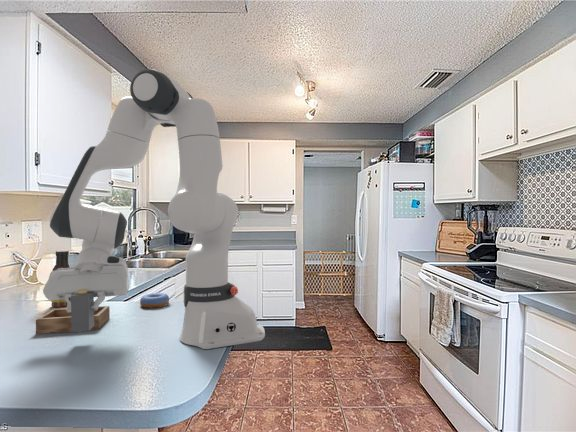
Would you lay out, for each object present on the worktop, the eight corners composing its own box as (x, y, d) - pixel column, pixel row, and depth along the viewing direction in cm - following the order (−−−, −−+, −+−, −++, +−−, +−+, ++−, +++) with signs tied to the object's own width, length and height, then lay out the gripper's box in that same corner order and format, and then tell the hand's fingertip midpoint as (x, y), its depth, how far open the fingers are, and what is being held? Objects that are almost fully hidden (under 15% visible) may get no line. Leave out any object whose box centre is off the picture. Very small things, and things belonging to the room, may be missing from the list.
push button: (94, 325, 93) (93, 287, 93) (89, 330, 89) (88, 291, 89) (77, 327, 92) (76, 288, 92) (71, 332, 88) (70, 292, 88)
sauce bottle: (61, 308, 124) (61, 252, 124) (46, 307, 126) (46, 251, 125) (76, 303, 131) (75, 250, 131) (62, 302, 132) (61, 250, 132)
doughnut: (154, 309, 121) (155, 296, 122) (133, 308, 125) (133, 295, 126) (175, 305, 130) (175, 293, 131) (154, 304, 134) (154, 292, 135)
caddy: (109, 318, 112) (109, 305, 112) (98, 329, 101) (98, 315, 101) (53, 322, 108) (53, 309, 108) (35, 333, 98) (35, 319, 98)
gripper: (48, 261, 95) (31, 306, 85) (129, 258, 99) (122, 300, 90) (55, 275, 99) (40, 320, 90) (133, 271, 104) (126, 313, 94)
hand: (81, 310), depth 90 cm, fingers closed on push button, 4 cm apart
